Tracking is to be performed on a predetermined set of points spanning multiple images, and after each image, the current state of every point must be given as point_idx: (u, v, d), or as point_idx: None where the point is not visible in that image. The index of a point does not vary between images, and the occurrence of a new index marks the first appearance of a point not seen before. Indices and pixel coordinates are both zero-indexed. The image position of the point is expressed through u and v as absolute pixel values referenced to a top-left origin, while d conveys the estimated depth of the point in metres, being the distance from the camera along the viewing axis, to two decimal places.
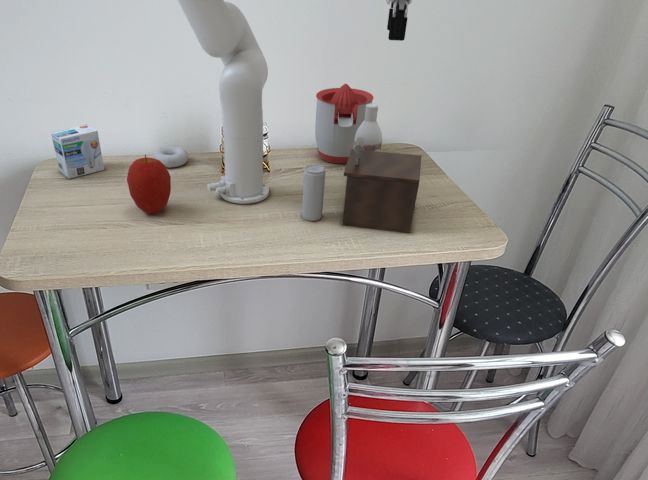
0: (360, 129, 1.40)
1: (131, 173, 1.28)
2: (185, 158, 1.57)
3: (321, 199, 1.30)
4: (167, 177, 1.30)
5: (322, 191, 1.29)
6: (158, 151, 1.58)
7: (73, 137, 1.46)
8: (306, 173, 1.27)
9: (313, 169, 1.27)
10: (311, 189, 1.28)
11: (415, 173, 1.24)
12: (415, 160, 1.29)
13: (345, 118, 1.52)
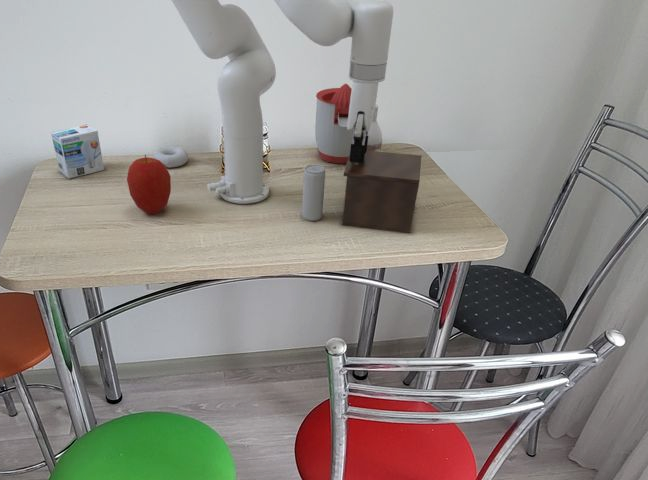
0: None
1: (131, 173, 1.28)
2: (185, 158, 1.57)
3: (321, 199, 1.30)
4: (167, 177, 1.30)
5: (322, 191, 1.29)
6: (158, 151, 1.58)
7: (73, 137, 1.46)
8: (306, 173, 1.27)
9: (313, 169, 1.27)
10: (311, 189, 1.28)
11: (415, 173, 1.24)
12: (415, 160, 1.29)
13: (345, 118, 1.52)
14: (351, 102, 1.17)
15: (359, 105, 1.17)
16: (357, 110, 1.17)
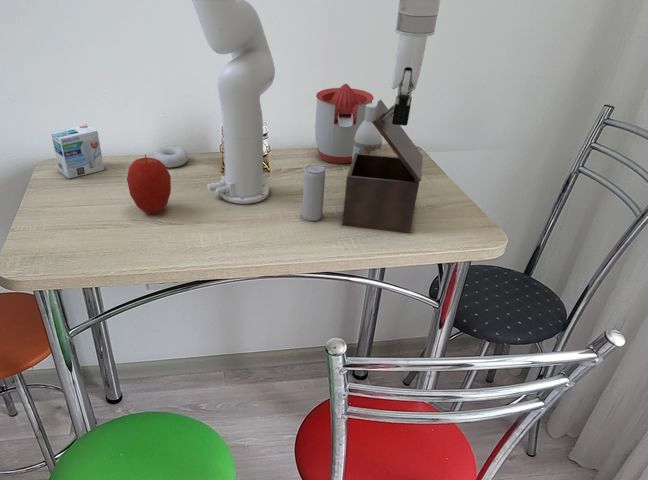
0: (360, 129, 1.40)
1: (131, 173, 1.28)
2: (185, 158, 1.57)
3: (321, 199, 1.30)
4: (167, 177, 1.30)
5: (322, 191, 1.29)
6: (158, 151, 1.58)
7: (73, 137, 1.46)
8: (306, 173, 1.27)
9: (313, 169, 1.27)
10: (312, 189, 1.28)
11: (418, 171, 1.23)
12: (419, 157, 1.29)
13: (345, 118, 1.52)
14: (398, 57, 1.10)
15: (407, 60, 1.09)
16: (404, 66, 1.10)
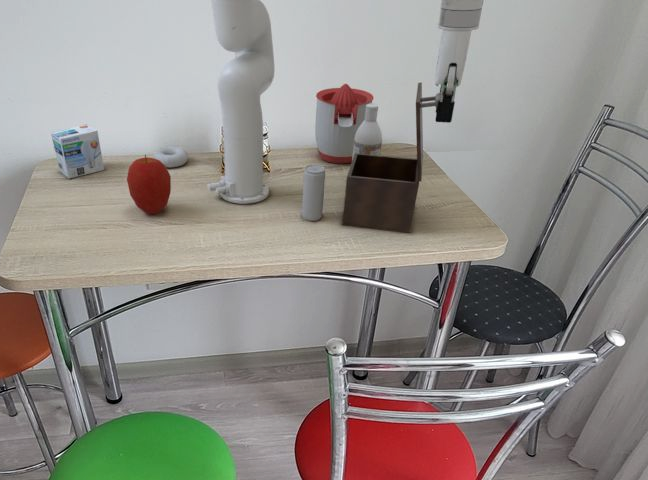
0: (360, 129, 1.40)
1: (131, 173, 1.28)
2: (185, 158, 1.57)
3: (321, 199, 1.30)
4: (167, 177, 1.30)
5: (322, 191, 1.29)
6: (158, 151, 1.58)
7: (73, 137, 1.46)
8: (306, 173, 1.27)
9: (313, 169, 1.27)
10: (311, 189, 1.28)
11: None
12: None
13: (345, 118, 1.52)
14: (442, 53, 1.08)
15: (451, 56, 1.07)
16: (449, 62, 1.08)
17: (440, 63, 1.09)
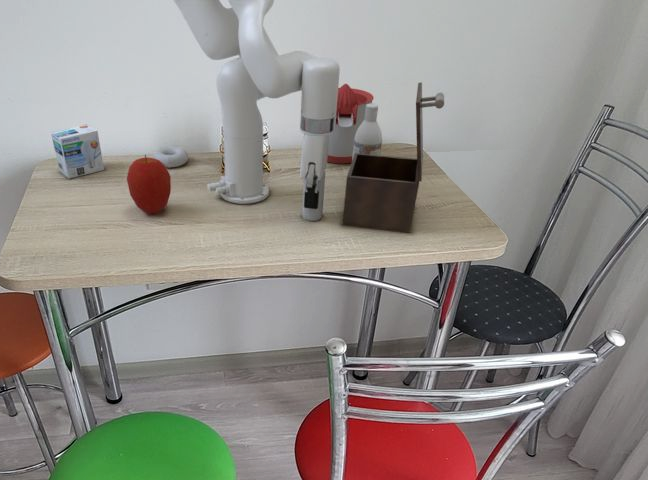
0: (360, 129, 1.40)
1: (131, 173, 1.28)
2: (185, 158, 1.57)
3: (321, 199, 1.30)
4: (167, 177, 1.30)
5: (322, 191, 1.29)
6: (158, 151, 1.58)
7: (73, 137, 1.46)
8: None
9: None
10: None
11: None
12: None
13: (345, 118, 1.52)
14: (302, 153, 1.21)
15: (310, 157, 1.21)
16: (308, 161, 1.21)
17: (301, 161, 1.22)
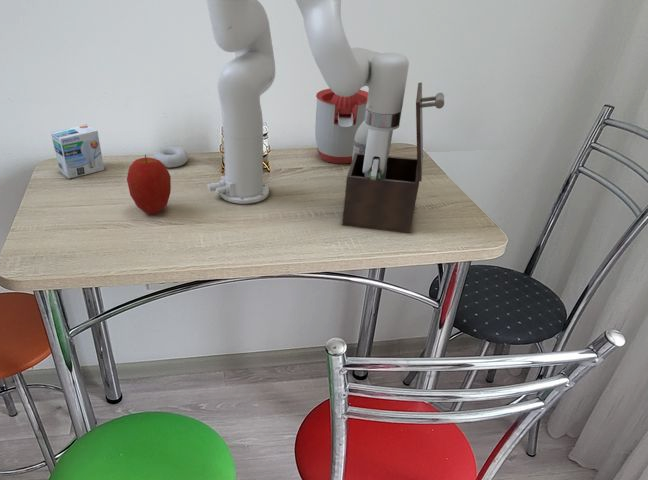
0: (360, 129, 1.40)
1: (131, 173, 1.28)
2: (185, 158, 1.57)
3: None
4: (167, 177, 1.30)
5: None
6: (158, 151, 1.58)
7: (73, 137, 1.46)
8: None
9: None
10: None
11: None
12: None
13: (345, 118, 1.52)
14: (367, 148, 1.22)
15: (375, 151, 1.22)
16: (373, 155, 1.22)
17: (365, 156, 1.23)
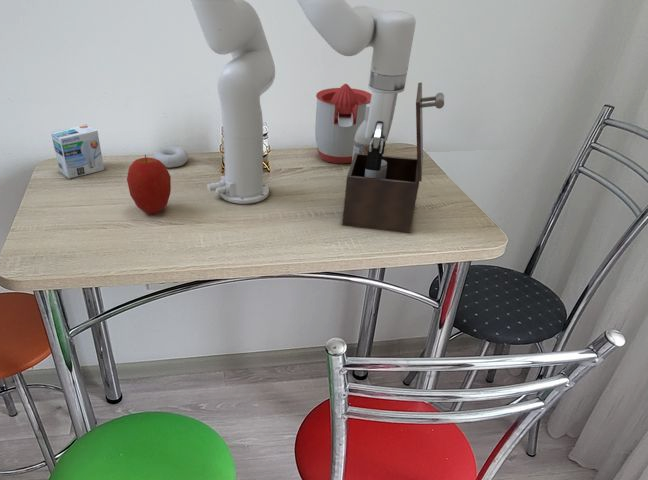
0: (360, 129, 1.40)
1: (131, 173, 1.28)
2: (185, 158, 1.57)
3: None
4: (167, 177, 1.30)
5: None
6: (158, 151, 1.58)
7: (73, 137, 1.46)
8: None
9: None
10: None
11: None
12: None
13: (345, 118, 1.52)
14: (370, 112, 1.17)
15: (378, 115, 1.17)
16: (376, 120, 1.18)
17: (368, 120, 1.18)
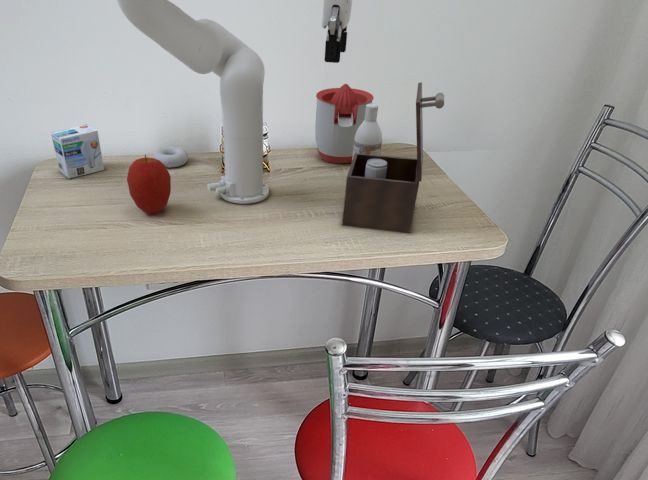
0: (360, 129, 1.40)
1: (131, 173, 1.28)
2: (185, 158, 1.57)
3: None
4: (167, 177, 1.30)
5: None
6: (158, 151, 1.58)
7: (73, 137, 1.46)
8: (368, 167, 1.27)
9: (375, 163, 1.28)
10: None
11: None
12: None
13: (345, 118, 1.52)
14: None
15: None
16: (332, 4, 1.13)
17: (324, 5, 1.14)
